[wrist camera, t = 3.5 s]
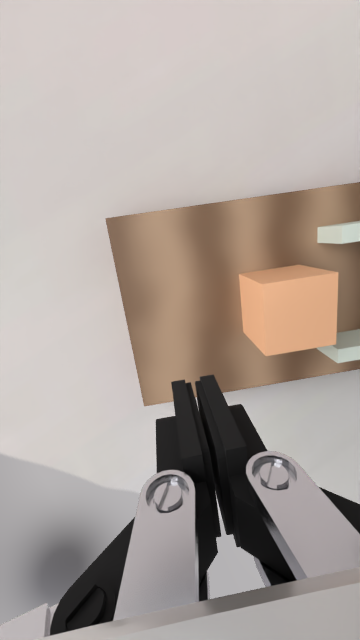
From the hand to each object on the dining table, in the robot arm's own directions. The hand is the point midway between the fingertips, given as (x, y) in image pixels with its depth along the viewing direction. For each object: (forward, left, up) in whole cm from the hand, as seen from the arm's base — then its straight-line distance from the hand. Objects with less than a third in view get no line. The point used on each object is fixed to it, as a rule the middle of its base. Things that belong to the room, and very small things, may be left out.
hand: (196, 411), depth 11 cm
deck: (-20, 0, -17) cm, 26 cm away
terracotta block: (-8, 0, -13) cm, 15 cm away
